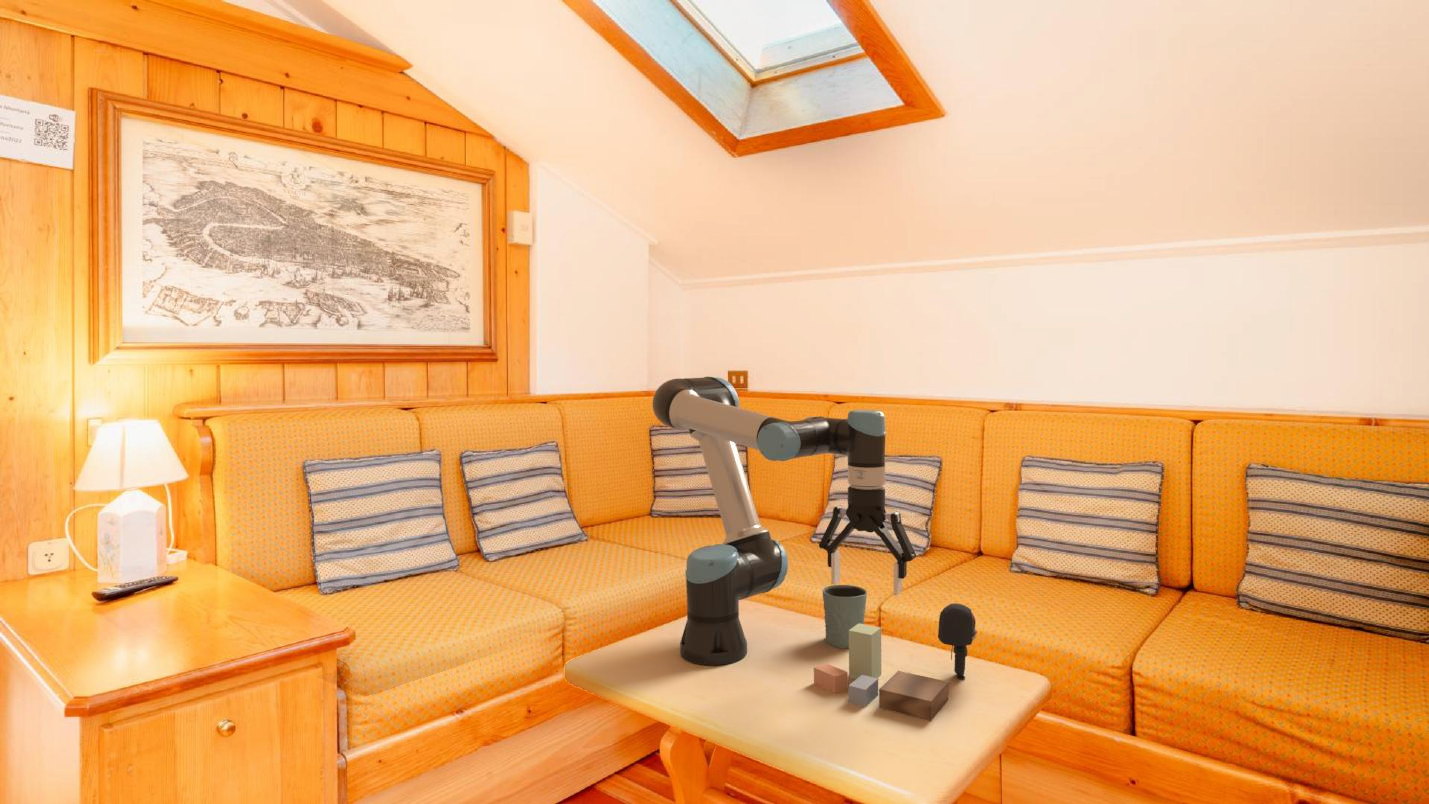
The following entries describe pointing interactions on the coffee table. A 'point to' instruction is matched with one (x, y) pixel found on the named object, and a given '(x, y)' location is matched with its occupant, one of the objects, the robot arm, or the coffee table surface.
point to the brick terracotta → (830, 678)
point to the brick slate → (863, 690)
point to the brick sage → (864, 651)
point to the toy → (957, 632)
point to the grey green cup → (843, 612)
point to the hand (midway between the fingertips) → (866, 588)
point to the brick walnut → (913, 695)
